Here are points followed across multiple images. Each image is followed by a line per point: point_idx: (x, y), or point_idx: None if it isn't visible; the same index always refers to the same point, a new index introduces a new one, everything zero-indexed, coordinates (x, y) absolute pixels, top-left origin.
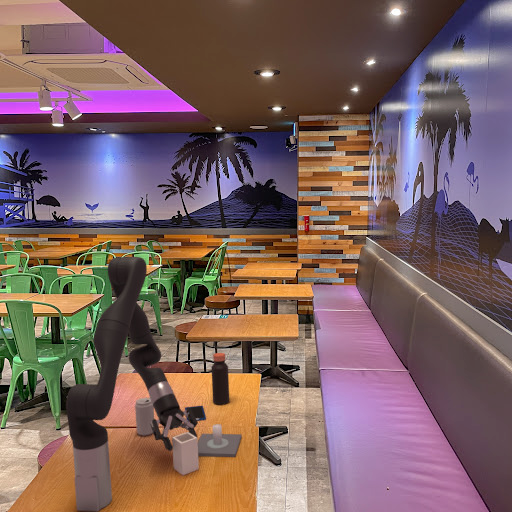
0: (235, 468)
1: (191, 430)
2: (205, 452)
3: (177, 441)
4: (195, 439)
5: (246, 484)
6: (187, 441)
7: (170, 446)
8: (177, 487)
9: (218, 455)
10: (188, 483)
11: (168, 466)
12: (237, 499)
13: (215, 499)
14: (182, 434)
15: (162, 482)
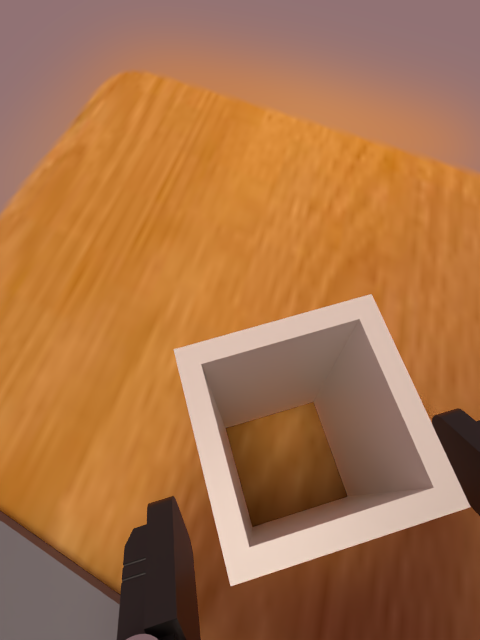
0: (17, 333)
1: (172, 596)
2: (92, 603)
3: (404, 372)
4: (199, 344)
5: (53, 185)
6: (297, 315)
7: (465, 416)
8: (369, 282)
9: (23, 531)
10: (306, 294)
11: (399, 555)
12: (141, 113)
13: (222, 140)
14: (319, 531)
15: (448, 362)
